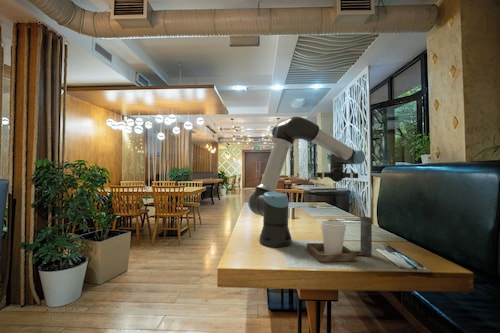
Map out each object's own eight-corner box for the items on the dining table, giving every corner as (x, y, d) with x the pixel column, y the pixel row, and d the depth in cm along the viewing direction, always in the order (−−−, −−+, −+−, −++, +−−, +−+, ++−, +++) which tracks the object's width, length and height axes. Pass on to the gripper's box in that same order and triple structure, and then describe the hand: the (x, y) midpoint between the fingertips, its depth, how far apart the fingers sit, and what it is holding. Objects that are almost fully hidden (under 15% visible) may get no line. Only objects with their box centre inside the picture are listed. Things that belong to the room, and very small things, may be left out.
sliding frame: (318, 261, 91) (318, 221, 91) (307, 249, 105) (307, 214, 105) (380, 260, 92) (380, 220, 92) (360, 248, 106) (360, 214, 107)
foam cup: (328, 249, 105) (329, 219, 105) (349, 255, 98) (349, 223, 98) (316, 254, 99) (316, 222, 99) (337, 261, 92) (338, 226, 92)
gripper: (360, 182, 136) (365, 183, 116) (314, 180, 144) (311, 182, 124) (360, 168, 136) (365, 168, 116) (314, 168, 144) (311, 167, 124)
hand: (337, 175), depth 120 cm, fingers open, 13 cm apart
